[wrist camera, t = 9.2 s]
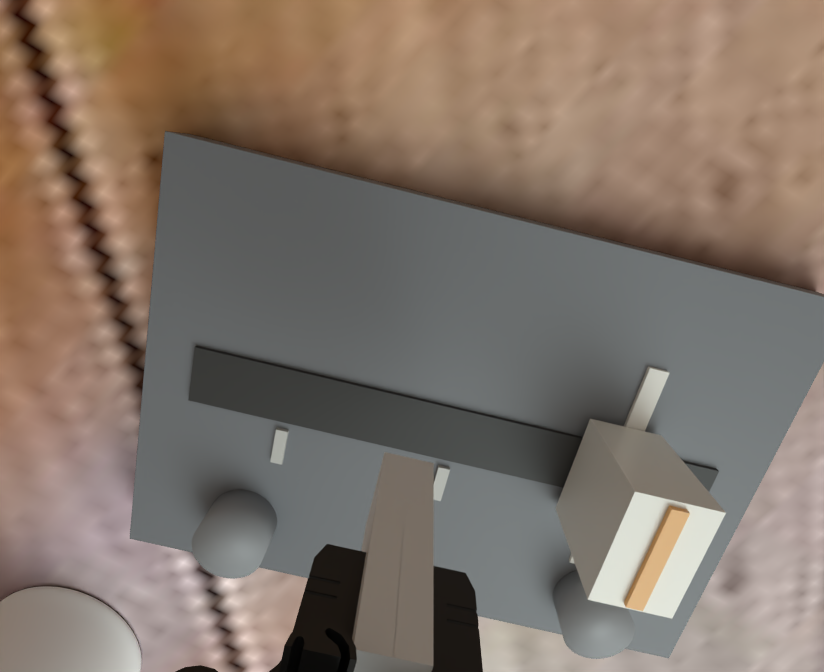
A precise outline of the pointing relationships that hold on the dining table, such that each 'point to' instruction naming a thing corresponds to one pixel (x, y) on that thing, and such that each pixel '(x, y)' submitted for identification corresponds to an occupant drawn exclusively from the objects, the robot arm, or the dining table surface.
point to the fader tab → (635, 519)
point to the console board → (437, 378)
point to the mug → (64, 634)
